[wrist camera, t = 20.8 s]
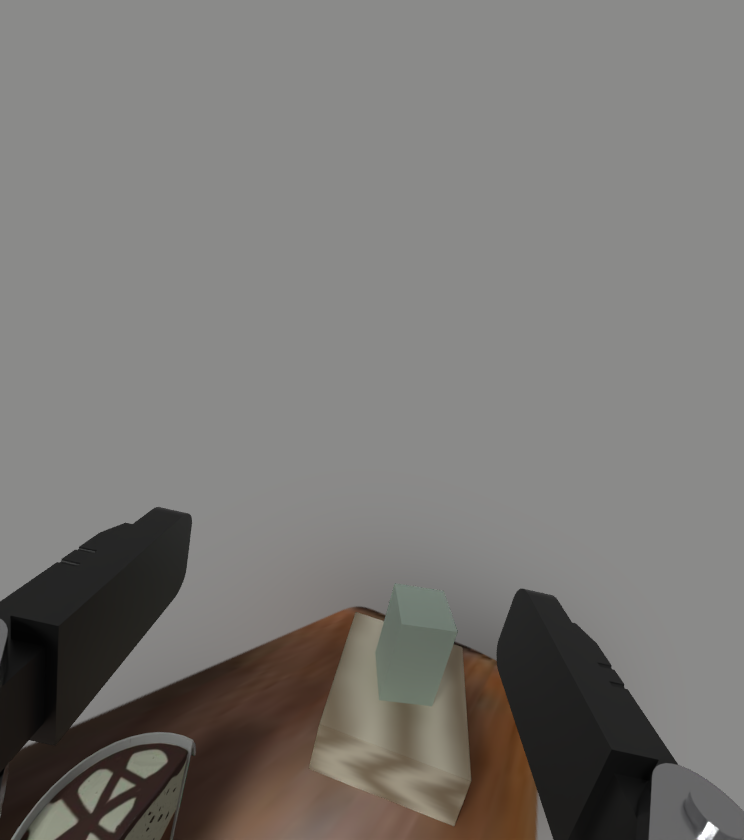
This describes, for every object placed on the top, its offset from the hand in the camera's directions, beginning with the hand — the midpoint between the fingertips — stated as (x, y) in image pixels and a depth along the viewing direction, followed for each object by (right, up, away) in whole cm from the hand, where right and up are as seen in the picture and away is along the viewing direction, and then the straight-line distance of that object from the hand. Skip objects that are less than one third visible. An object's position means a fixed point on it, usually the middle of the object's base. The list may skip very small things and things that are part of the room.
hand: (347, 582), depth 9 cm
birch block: (+3, -30, +33) cm, 45 cm away
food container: (-19, -29, +16) cm, 38 cm away
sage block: (+4, -24, +32) cm, 40 cm away
